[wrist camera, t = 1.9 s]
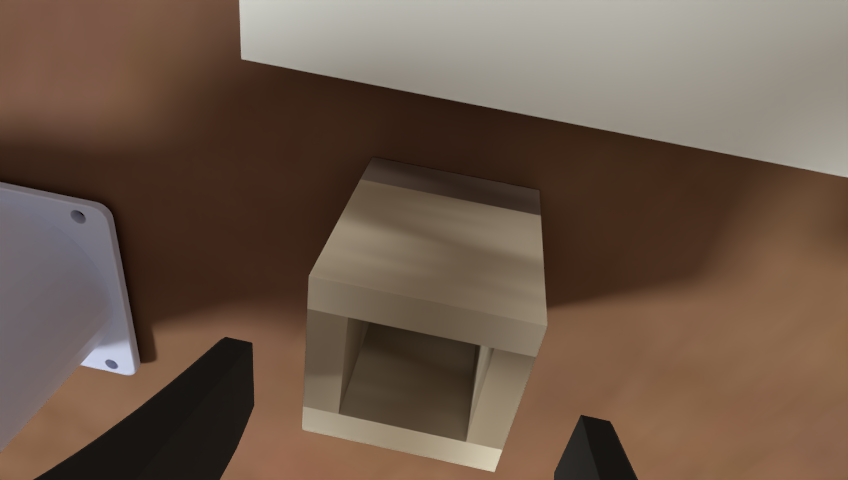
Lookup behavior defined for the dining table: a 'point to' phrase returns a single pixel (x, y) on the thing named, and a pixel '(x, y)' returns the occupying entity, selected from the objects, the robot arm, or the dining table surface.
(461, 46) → the pinboard
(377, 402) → the sleeve
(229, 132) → the dining table surface
